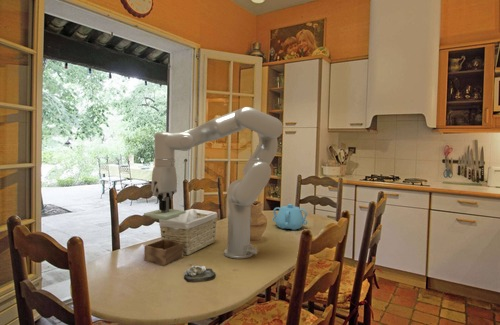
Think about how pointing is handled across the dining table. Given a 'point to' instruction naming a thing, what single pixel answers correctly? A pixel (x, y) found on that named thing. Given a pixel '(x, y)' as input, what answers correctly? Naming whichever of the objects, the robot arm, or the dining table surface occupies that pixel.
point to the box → (163, 252)
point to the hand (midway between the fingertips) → (165, 209)
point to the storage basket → (190, 229)
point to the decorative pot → (289, 217)
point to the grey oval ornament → (199, 274)
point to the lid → (165, 212)
